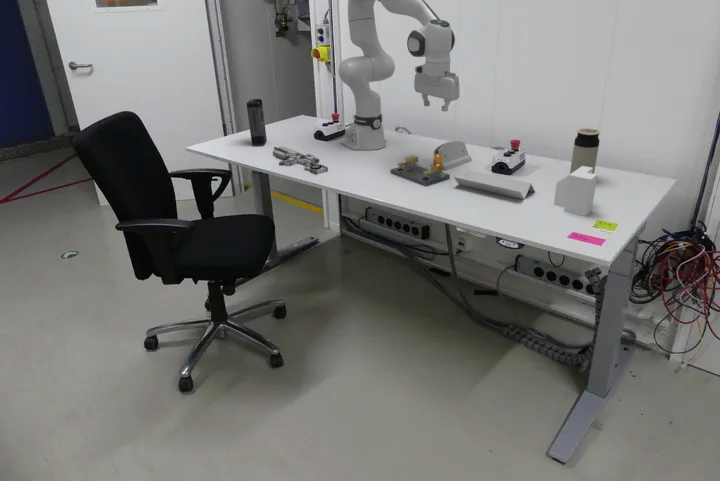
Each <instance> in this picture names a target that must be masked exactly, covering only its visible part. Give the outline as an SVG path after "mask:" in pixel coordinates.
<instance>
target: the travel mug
mask: <svg viewBox="0 0 720 481" xmlns="http://www.w3.org/2000/svg"><path fill="white" fill-rule="evenodd" d="M576 132H577V135H576V136H575V139H574V142H573V150H572V157H571V163H570V172H569V175H570V174H571V173H573V172H574V171H576V170H577V169H579V168H580V167H582V166H586V167H591V168H593V172H592V174H595V170H596V165H597V159H598V153H599V147H600V138H599V136H600V133H601V131H600V130H599V129H597V128H591V127H588V128H587V127H583V128H578V129H576Z"/></svg>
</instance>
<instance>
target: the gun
mask: <svg viewBox="0 0 720 481" xmlns="http://www.w3.org/2000/svg"><path fill="white" fill-rule="evenodd" d="M273 149H274V151H272V155H273V156H275V158H278V159H280V161H279V162H278V166H280V167H281V166H285V167H292V166H295V165H296V164H301V165H303V166H304V168H303V169H304V170H308V171H309V172H310V173H312V174H315V175H321V174H324V173H327V172H328V171H329V167H328V166H326V165H324V164H319V162H320V158H319V157H317V156H315V155H313V154H310V153H306V154H305V155H304V154H303V153H301V152H298V151H297V150H294V149H291V148H289V147H286V146H280V147H277V146H274V147H273ZM281 160H282V161H281Z"/></svg>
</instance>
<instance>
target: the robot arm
mask: <svg viewBox="0 0 720 481" xmlns="http://www.w3.org/2000/svg"><path fill="white" fill-rule="evenodd" d="M376 1H378V2H380V3H381V5H382V6H383V8H384V9H385V10H386V11H388V12H389V13H390V14H395V15H402V16H408V17H411V18H414V19H416V20H417V21H418V22H419V23H420V24H421V25H422V27H420V28H416V29H413V30H412V31H411V32H410V33H409V34H408V36H407V41H406V43H407V44H406V46H407V50H408V53H409V54H410V55H411V56H412V57H415V58H425V60H424V61H425V63H423V64H420V65H417V66H415V67H414V72H415V75H414V80H413V81H414V83H413V84H414V85H413V87H414V91H415V93H418V94H421V99H422V100H423V106H424V107H426V108H427V107H430V105H431V101H430V100H429V98H428V97H429V96H430V97H434V98H438V99H441V100H442V99H443V103H444V104H443V105H442V106H441V111H442V112H444V113H445V112H448V110H449V106H450V104H451V102H453V101H458V100H459V98H460V93H461V92H460V79H459V76H458V75H457V73H455V72H451V56H450V55H451V51H453V49H454V46H455V44H456V37H455V33H454V32H453V30H452V26H451V23H450V22H448V21H447V20H444V19H441V18H440V17H439V16H438V15H437V14H436V12H435V11H434V10H433V9H432V8H431V7H430V6H429V4H428V3H427V2H426V1H425V0H347V20H348V29H349V38H350V41H351V43H352V44H353V46H356V47H358V48H359V49H361V51H362V53H363V55H359V56H352V57H349V58H346V59H343V60H342V61H341V62H340V63H339V66H338V76H339V78H340V80H341V81H342V83H344V84H345V85H346V86H348V87H349V89H350V90H351V92H352V94H353V98H354V105H355V114H354V115H352V119H353V123H352V124H351V125H350V126H349V127H348V128H347V129H346V130H345V133H344V134H345V136H344V138H342V139H341V140H340V141H339V142H340V144H342V145H343V146H344V147H347V148H349V149H350V150H353V151H361V150H362V151H371V150H378V149H381V148H384V147H385V146H386V143H387V139H385V131H384V130H385V129H384V125H383V124H382V123H383V114H382V107H381V106H382V102H381V96H380V95H379V93H377V92H376V91H374V90H372V89H371V87H370V83H374V82H381V81H384V80H387V79H390V78H391V77H393V75H394V73H395V69H396V64H395V61H394V59H393V58H392V56H391V55H390V54H388V53H387V52H386V51H385V50H384V48H383V46H382V45H381V44H380V41H379V38H378V32H377V26H376V16H375V15H376V14H375V10H374V5H375V2H376Z"/></svg>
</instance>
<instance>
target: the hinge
mask: <svg viewBox="0 0 720 481" xmlns="http://www.w3.org/2000/svg"><path fill="white" fill-rule="evenodd" d="M468 152H469V151H468V149H467V145H466V143H465V141H462V140H461V141H460V140H453V141H448V142H445V143H442V144H441V145H439V146H437V147H436V148H435V149H434V150H433V155H434V154H442V164H443V165H445V167H444V171H446V172H447V171H448V170H451V169H453V168H457V167H459V166H463V165H465V164H468V163H471V162H472V159H473V158H472V157H471V156H470V155H469V153H468Z"/></svg>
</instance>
